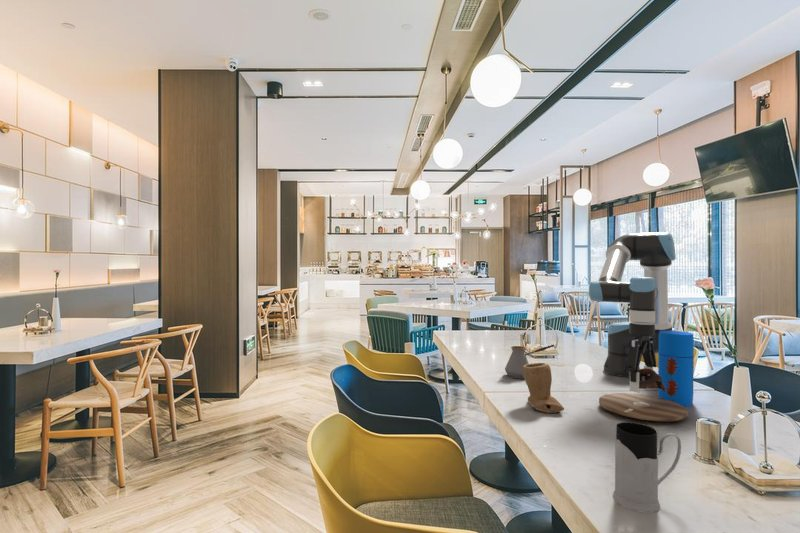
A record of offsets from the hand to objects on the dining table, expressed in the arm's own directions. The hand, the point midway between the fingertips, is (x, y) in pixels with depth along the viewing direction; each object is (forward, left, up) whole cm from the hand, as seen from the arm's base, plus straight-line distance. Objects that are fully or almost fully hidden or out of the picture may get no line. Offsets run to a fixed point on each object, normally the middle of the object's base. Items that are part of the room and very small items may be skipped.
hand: (641, 388), depth 145 cm
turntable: (0, 0, -6) cm, 6 cm away
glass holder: (+57, +24, -8) cm, 63 cm away
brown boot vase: (+22, -24, -8) cm, 34 cm away
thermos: (-22, +3, -8) cm, 24 cm away
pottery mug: (-1, +1, -1) cm, 2 cm away
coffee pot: (-10, -50, -8) cm, 52 cm away
